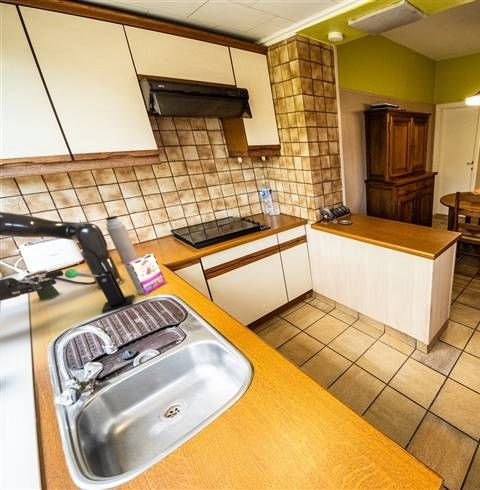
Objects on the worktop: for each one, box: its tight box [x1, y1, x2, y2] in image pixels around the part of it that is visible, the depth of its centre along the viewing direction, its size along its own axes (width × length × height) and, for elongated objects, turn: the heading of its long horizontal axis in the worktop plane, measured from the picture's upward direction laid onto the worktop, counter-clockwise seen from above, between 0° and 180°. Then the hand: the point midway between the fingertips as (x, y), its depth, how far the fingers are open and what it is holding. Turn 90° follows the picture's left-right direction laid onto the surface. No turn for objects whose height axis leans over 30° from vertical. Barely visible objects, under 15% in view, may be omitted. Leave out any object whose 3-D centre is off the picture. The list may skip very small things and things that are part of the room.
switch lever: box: [64, 268, 106, 279], centre depth 110 cm, size 13×4×4 cm, turn 125°
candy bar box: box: [123, 253, 167, 295], centre depth 127 cm, size 11×5×16 cm, turn 168°
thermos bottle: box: [105, 215, 139, 264], centre depth 158 cm, size 8×8×28 cm
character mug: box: [23, 269, 60, 301], centre depth 125 cm, size 11×7×13 cm, turn 63°
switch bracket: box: [96, 270, 135, 314], centre depth 115 cm, size 10×8×16 cm
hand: (58, 276), depth 105 cm, fingers open, 8 cm apart
